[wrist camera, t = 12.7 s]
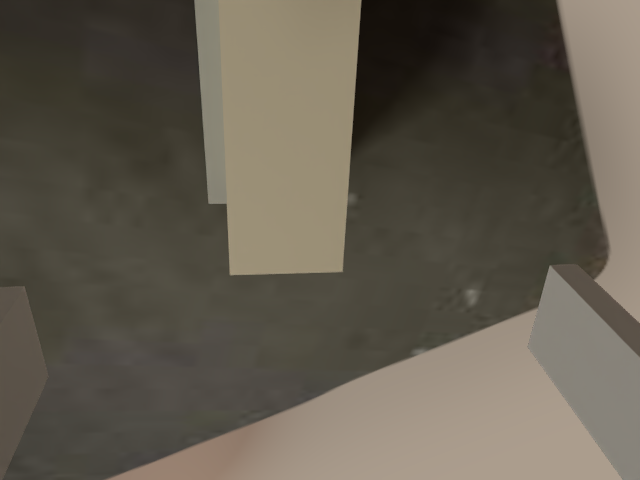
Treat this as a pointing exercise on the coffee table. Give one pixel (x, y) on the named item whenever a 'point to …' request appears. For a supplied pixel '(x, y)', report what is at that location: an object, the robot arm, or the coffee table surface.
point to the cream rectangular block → (287, 131)
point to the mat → (211, 97)
